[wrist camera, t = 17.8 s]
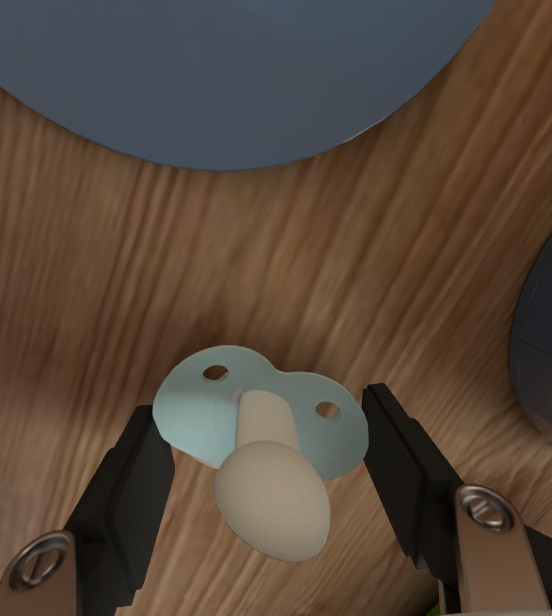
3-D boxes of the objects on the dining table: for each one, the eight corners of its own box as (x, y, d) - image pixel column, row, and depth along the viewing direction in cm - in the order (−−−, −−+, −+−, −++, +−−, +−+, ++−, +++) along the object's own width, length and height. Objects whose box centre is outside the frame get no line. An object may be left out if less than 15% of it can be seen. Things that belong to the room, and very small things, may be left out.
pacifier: (302, 477, 14) (366, 375, 12) (336, 684, 8) (471, 548, 6) (145, 435, 12) (191, 312, 11) (48, 651, 7) (113, 459, 5)
